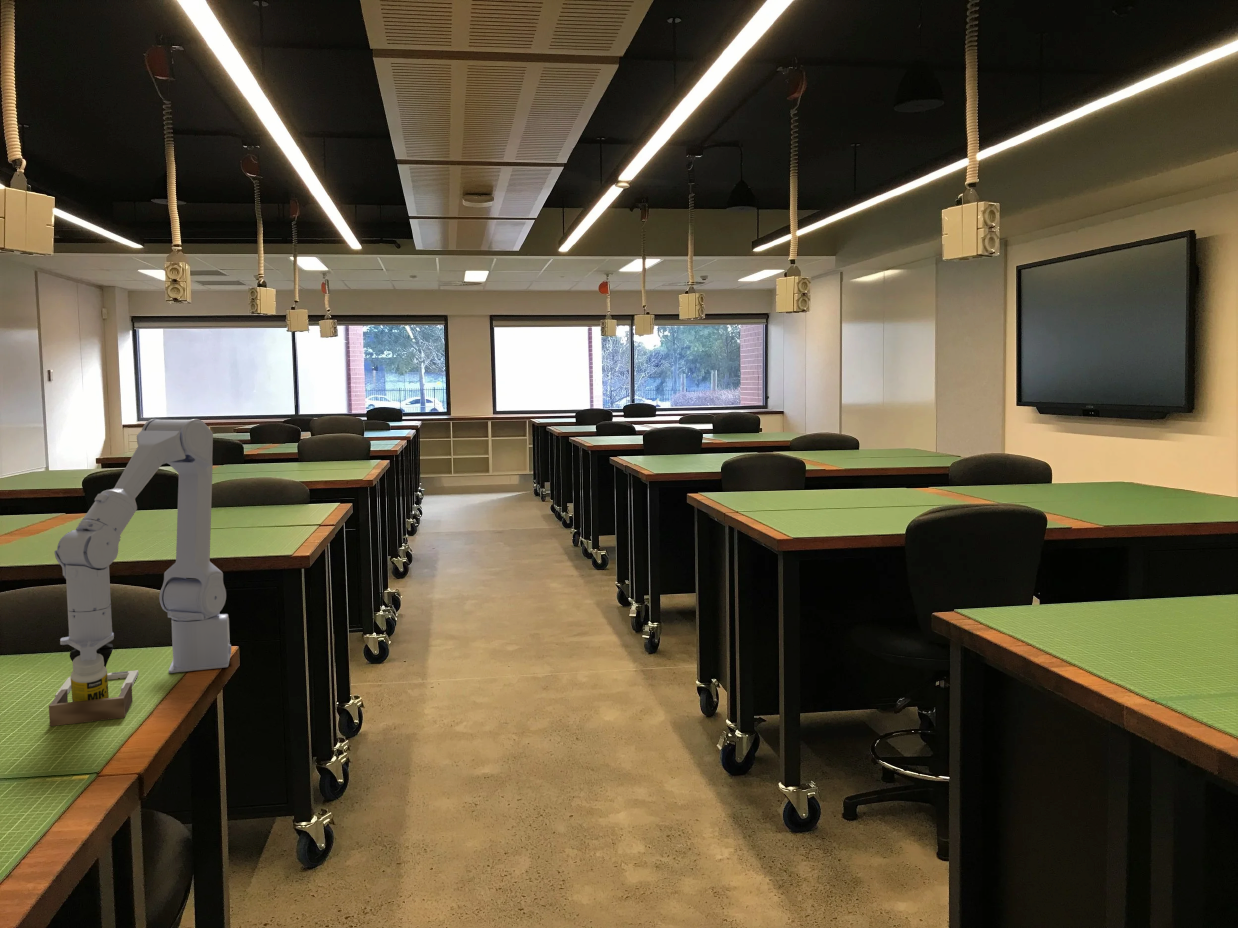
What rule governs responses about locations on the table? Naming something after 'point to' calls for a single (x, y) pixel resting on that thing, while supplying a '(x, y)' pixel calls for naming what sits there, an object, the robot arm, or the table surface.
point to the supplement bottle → (89, 679)
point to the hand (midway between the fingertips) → (93, 694)
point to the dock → (128, 675)
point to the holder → (89, 708)
